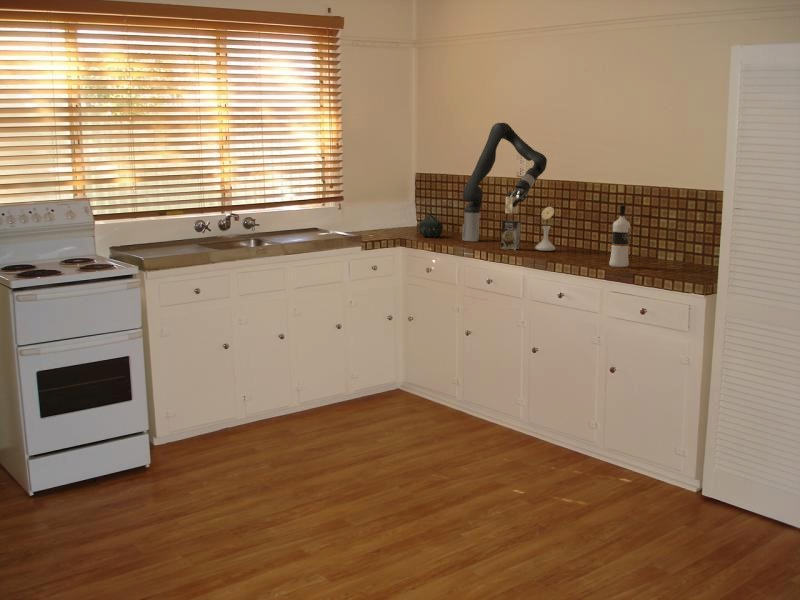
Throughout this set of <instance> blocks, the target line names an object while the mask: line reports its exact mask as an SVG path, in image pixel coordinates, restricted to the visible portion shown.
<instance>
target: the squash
mask: <svg viewBox="0 0 800 600" xmlns="http://www.w3.org/2000/svg"><path fill="white" fill-rule="evenodd" d="M418 231H419V234H420V235H422V236H423V237H424V238H429V237H431V238H433V237H435V238H439V237H440V236H441V235H442V233H443V225H442V222H441V221H440V219H438V218H437V217H435V216H434V215H432V214H427V215H426V216H425V217H424V218H423V219H422V220H421V221H420V223H419V225H418Z"/></svg>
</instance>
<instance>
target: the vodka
mask: <svg viewBox="0 0 800 600" xmlns="http://www.w3.org/2000/svg"><path fill="white" fill-rule="evenodd" d="M630 228H631V223H630V222H629V220H627V219H626V205H624V204H620V205H619V217H618V219H616V220H615V221H613V223H612V239H611V253H610V259H609V262H608V264H609V266H610V267H614V268H627V267H628V266H629V248H630V246H629V245H630V232H631V229H630Z"/></svg>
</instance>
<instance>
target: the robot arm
mask: <svg viewBox="0 0 800 600" xmlns="http://www.w3.org/2000/svg"><path fill="white" fill-rule="evenodd" d="M501 140H506V141H507V142H509V143H510V144H512V146H513V147H514V149H515V151H516V152H517V153H518V154H519V155H520V156H521V157H523V158H524V159H525V160H526V161H528V162H531V161H533V166H532V167H530V168H528V170H527V171H526V172H525V174H524V175H523V176H522V177H521V178H520V180H519V181H518V182H517V184H516V185H515V189H514V190H512V191H511V190H509V191H508V192H507V195H506V197H517V198H516V200H515V201H514V203H513V204H512V206H513V207H515V206H516V205H517V204H518V205H519V203H520V202H522V203H523V202H524V201H525V200H526V199H527V198H528V197H529V191H530V190H531V188H532V187H533V185H534V184H535V182H536V181H537V179H538V178H539V177H540V176H541V175H542V174H543V173H544V172H545V170H546V168H547V162H548V159H547V157H546V155H544V154H543V153H541V152H539V151H537V150H534V148H532V147H531V146H530V145H529V144H528V143H526V142H525V141H524V140H523V139H522V138H521V137H520V136H519V135H518V133H516V131H515V130H514V129H513V128H512V127H511V125H510V124H508V123H507V122H498V123H494V124H493V125H492V127H491V129H490V131H489V134H488V138H487V141H486V143H485V145H484V148H483V149H482V151H481V154H480V156H479V158H478V161H477V162H476V165H475V168H474V169H473V172H472V173H471V176H470V178H469V179H468V181H467V183H466V185H465V186H464V188H463V190H462V199H463V200H464V201H466V202H469V203H468V204H467V206H465V207H464V214H463V217H464V218H463V224H462V232H461V233H462V236H461V238H462V239H461V240H462V241H465V242H479V236H480V233H479V232H480V216H481V215H480V213H481V209H482V202H483V190H482V188H481V187H480V186H479V185H480V183H481V182H482V181H483V179H484V178H486V176H487V175H488V174H490V172H491V170H492V168H493V167H494V164H495V162H496V157H497V153H496V152H497V148H498V146H499V143H500V142H501ZM506 197H505V198H506ZM504 206H506V202H504Z"/></svg>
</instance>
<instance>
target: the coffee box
mask: <svg viewBox="0 0 800 600" xmlns="http://www.w3.org/2000/svg"><path fill="white" fill-rule="evenodd" d="M521 223H522V222H521V220H509V219H508V220H507V219H505V220H502V221H501V236H500V238H501V239H500V250H507V249H513V250H512V251H517V250H516V249H519V250H520V238H521V237H520V236H521Z"/></svg>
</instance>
